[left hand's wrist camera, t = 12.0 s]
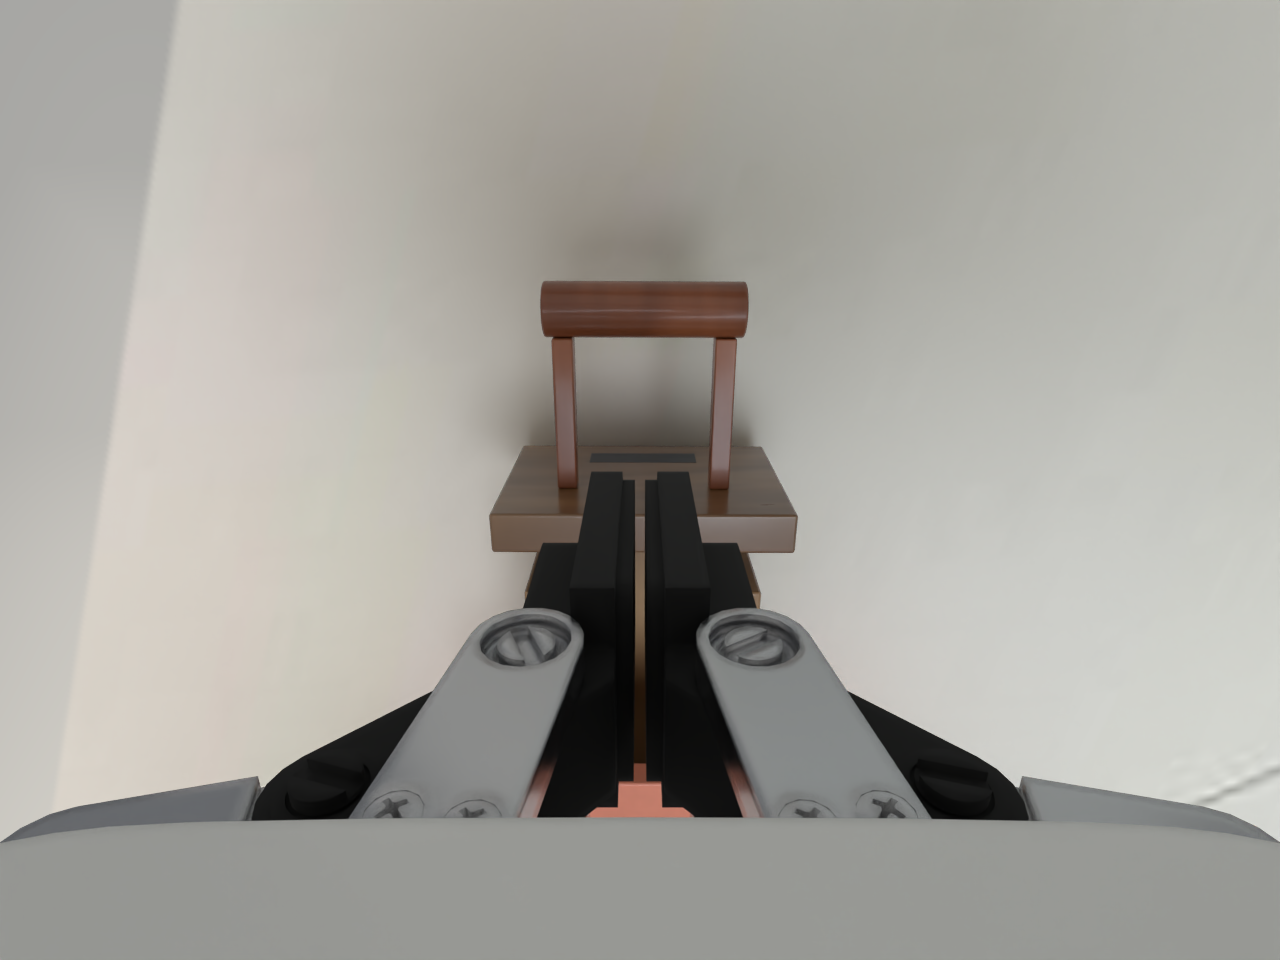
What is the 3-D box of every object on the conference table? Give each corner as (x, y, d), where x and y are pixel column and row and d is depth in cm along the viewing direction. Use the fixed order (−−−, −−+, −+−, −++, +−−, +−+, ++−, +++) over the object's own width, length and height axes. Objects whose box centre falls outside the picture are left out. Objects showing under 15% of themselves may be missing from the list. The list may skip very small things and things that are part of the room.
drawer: (512, 269, 23) (469, 288, 17) (774, 271, 23) (820, 290, 17) (543, 776, 30) (521, 906, 25) (738, 777, 30) (761, 907, 25)
